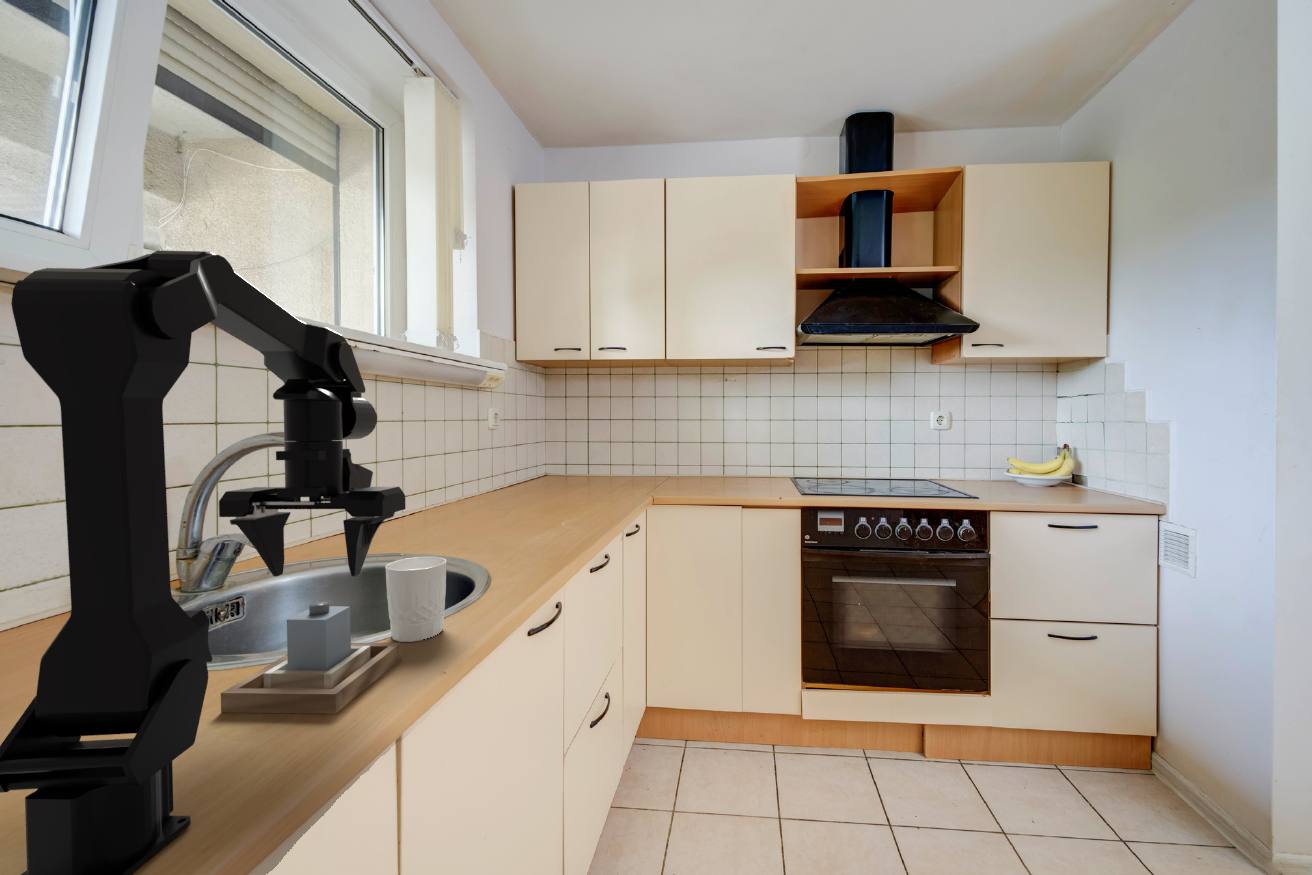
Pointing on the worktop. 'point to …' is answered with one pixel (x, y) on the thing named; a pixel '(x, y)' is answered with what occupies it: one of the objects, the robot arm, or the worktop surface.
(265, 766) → the worktop surface
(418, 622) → the white cup
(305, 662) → the block
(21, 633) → the worktop surface
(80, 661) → the robot arm
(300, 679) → the walnut box
